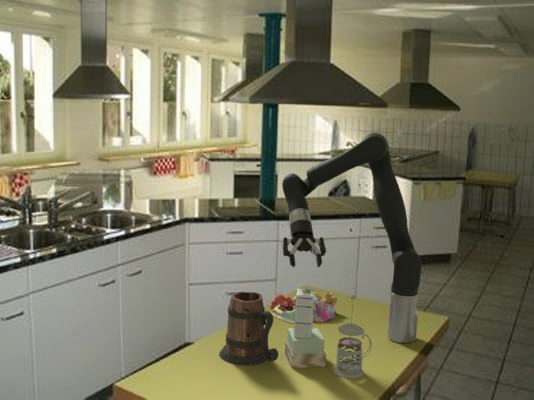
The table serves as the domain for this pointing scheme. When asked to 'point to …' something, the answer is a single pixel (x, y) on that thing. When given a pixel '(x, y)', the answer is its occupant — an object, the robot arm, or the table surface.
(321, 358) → the tower bottom block
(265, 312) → the tankard
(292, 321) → the candy dessert plate
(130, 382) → the table surface
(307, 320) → the syrup box
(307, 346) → the tower top block
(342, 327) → the french press
